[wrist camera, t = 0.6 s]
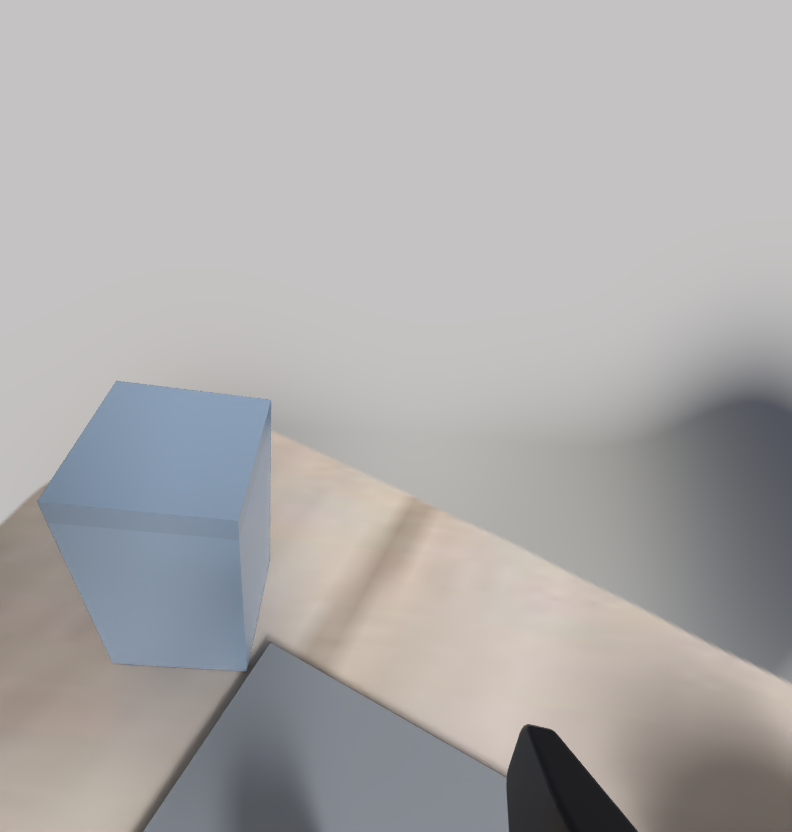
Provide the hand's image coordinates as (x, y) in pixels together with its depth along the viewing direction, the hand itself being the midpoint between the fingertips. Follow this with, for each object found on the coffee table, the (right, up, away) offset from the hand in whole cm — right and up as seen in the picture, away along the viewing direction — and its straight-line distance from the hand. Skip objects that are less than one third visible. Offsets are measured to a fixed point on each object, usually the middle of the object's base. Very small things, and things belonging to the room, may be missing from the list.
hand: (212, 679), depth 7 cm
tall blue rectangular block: (-7, -5, +17) cm, 19 cm away
